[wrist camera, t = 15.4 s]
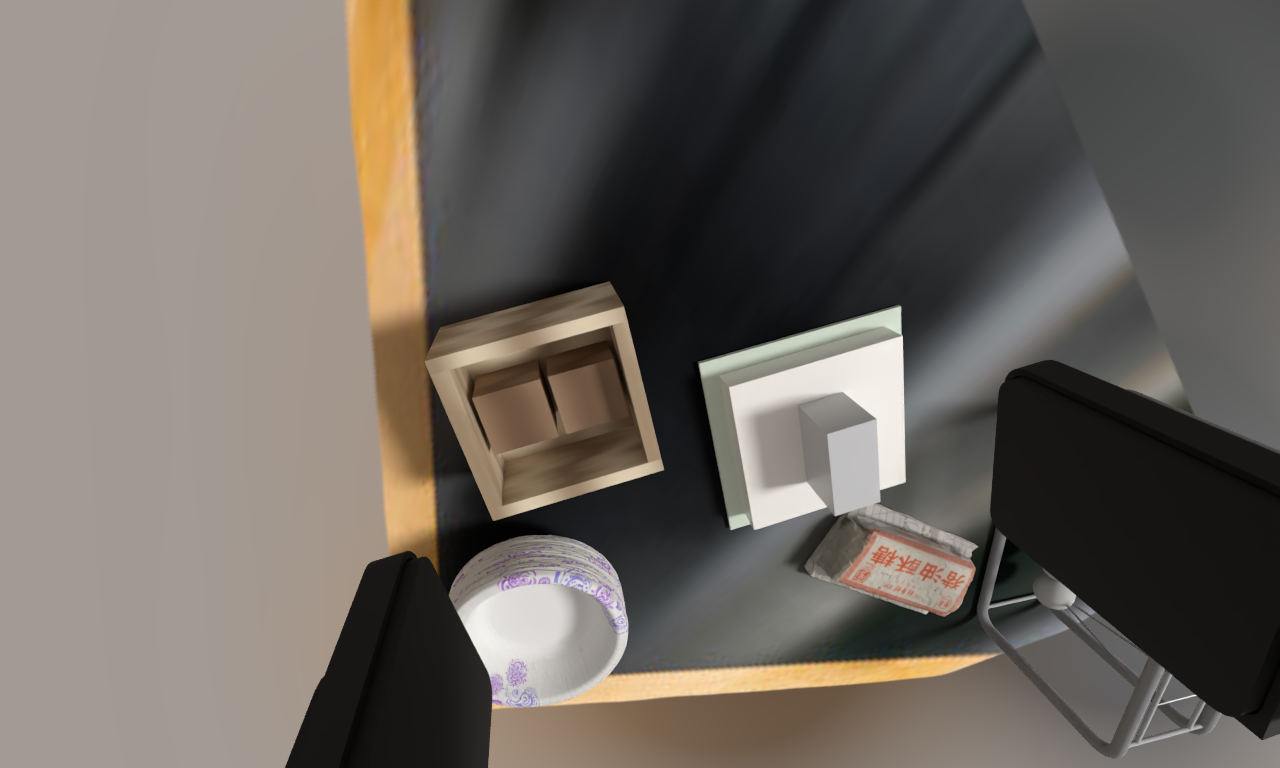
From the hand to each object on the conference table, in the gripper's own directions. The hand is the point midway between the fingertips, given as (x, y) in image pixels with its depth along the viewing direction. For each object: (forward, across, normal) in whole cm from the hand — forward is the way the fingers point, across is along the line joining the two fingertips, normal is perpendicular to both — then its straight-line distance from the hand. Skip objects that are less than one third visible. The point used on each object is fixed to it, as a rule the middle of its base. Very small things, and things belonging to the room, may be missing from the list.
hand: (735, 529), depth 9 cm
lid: (+34, -16, +22) cm, 43 cm away
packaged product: (+35, -24, +41) cm, 59 cm away
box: (+34, +5, +11) cm, 36 cm away
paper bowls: (+35, +12, +30) cm, 47 cm away
